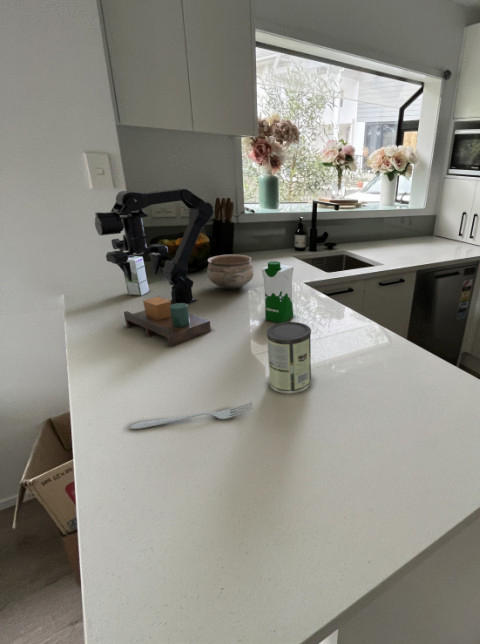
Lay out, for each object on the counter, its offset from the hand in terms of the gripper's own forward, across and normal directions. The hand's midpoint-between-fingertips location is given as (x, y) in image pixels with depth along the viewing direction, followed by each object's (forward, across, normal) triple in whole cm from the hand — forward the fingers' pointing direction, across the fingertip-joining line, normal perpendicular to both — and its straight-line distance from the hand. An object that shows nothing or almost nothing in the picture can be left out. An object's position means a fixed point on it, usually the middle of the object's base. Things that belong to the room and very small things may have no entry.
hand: (143, 277), depth 129 cm
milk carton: (+12, -21, +43) cm, 49 cm away
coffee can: (+12, +9, +72) cm, 73 cm away
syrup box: (+12, -8, -20) cm, 25 cm away
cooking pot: (+12, -36, +4) cm, 38 cm away
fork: (+12, +32, +64) cm, 72 cm away
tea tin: (+8, +6, +27) cm, 29 cm away
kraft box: (+8, +6, +16) cm, 19 cm away
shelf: (+12, +6, +20) cm, 24 cm away
